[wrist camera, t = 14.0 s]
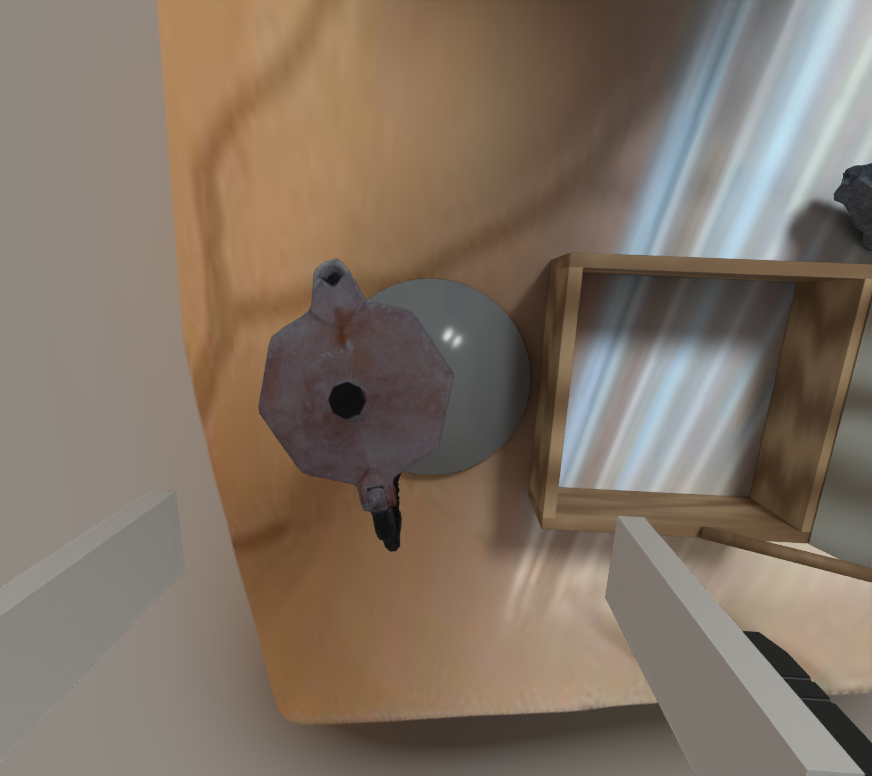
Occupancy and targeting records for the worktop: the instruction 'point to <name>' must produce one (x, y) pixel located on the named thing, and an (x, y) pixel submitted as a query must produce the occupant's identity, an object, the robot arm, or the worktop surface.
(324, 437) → the moka pot
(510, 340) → the disc
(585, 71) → the worktop surface
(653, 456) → the worktop surface
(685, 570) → the robot arm
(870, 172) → the stone
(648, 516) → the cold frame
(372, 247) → the worktop surface
